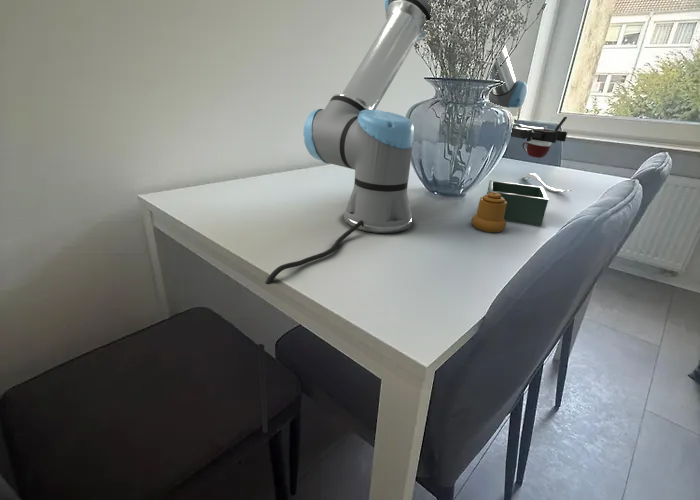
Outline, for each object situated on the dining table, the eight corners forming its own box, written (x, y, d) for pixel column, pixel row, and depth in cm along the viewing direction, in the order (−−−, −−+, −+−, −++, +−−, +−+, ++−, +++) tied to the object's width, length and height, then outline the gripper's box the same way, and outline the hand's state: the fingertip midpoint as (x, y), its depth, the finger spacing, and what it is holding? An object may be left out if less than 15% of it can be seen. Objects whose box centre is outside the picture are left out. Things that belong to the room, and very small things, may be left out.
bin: (541, 226, 92) (548, 199, 89) (483, 217, 96) (489, 191, 93) (536, 211, 102) (543, 187, 100) (484, 203, 106) (489, 180, 103)
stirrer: (578, 183, 117) (566, 184, 115) (575, 195, 118) (563, 195, 117) (531, 171, 135) (520, 172, 133) (529, 182, 136) (518, 182, 134)
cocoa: (517, 154, 119) (526, 112, 114) (532, 153, 121) (542, 113, 116) (542, 160, 111) (553, 116, 106) (557, 160, 113) (569, 116, 108)
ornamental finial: (500, 236, 85) (466, 228, 88) (507, 226, 90) (475, 219, 94) (509, 201, 81) (473, 194, 85) (515, 193, 87) (482, 187, 91)
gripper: (500, 136, 133) (570, 148, 117) (469, 139, 121) (542, 153, 106) (505, 113, 130) (578, 122, 114) (473, 114, 118) (550, 124, 103)
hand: (560, 137), depth 110 cm, fingers closed on cocoa, 6 cm apart
